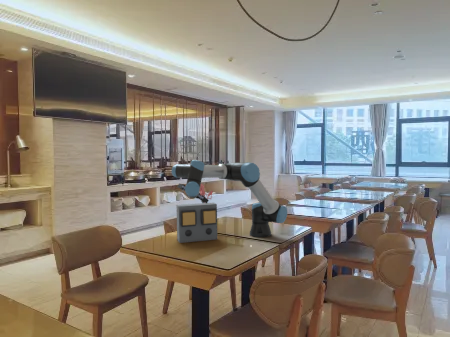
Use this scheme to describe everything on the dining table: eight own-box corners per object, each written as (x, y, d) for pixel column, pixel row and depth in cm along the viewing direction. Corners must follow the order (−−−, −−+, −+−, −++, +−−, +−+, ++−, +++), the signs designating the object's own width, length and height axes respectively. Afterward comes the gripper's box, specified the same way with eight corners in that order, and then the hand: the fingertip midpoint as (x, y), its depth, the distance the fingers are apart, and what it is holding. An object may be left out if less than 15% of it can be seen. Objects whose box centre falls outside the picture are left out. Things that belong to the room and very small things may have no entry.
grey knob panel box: (177, 240, 236) (176, 204, 235) (214, 236, 244) (213, 202, 243) (180, 243, 226) (179, 206, 225) (218, 239, 234) (217, 204, 234)
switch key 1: (182, 224, 228) (181, 212, 228) (194, 223, 231) (193, 211, 230) (183, 225, 225) (182, 213, 225) (195, 224, 228) (194, 212, 228)
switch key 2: (202, 222, 233) (202, 210, 232) (214, 221, 235) (214, 210, 235) (204, 223, 230) (203, 211, 229) (215, 222, 232) (215, 210, 232)
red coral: (216, 224, 287) (214, 182, 286) (207, 231, 262) (205, 184, 261) (198, 224, 291) (196, 182, 290) (187, 231, 266) (185, 185, 265)
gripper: (169, 186, 194) (172, 189, 215) (208, 208, 194) (207, 209, 215) (176, 174, 196) (178, 179, 217) (215, 196, 195) (213, 199, 216)
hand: (193, 194), depth 216 cm, fingers open, 13 cm apart
